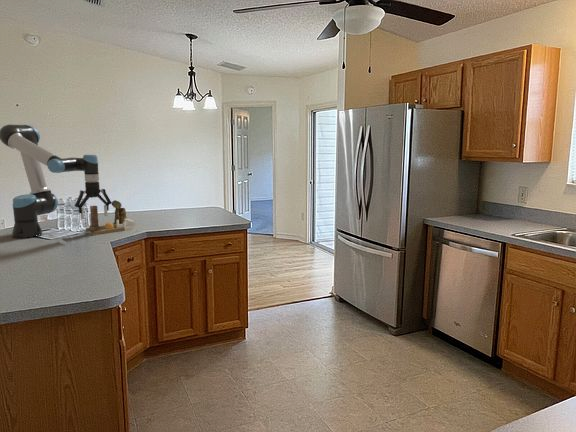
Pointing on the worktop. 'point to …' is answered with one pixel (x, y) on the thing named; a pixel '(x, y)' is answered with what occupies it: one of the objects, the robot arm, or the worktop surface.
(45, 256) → the worktop surface
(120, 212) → the brown animal figurine
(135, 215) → the worktop surface
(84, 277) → the worktop surface
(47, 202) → the robot arm
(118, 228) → the brown wooden tray
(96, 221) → the brown tall block
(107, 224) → the ball
